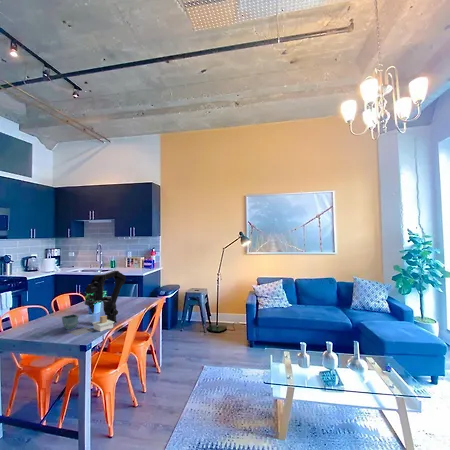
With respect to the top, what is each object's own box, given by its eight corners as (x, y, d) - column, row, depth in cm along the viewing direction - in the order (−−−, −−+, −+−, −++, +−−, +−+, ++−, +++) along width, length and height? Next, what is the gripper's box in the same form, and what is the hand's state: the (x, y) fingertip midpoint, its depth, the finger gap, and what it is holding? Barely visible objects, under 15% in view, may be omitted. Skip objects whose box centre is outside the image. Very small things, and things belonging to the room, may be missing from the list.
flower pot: (73, 325, 213) (73, 314, 213) (78, 327, 208) (78, 316, 208) (61, 328, 206) (61, 316, 207) (66, 331, 201) (66, 318, 201)
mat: (85, 327, 208) (85, 327, 208) (94, 331, 200) (94, 330, 200) (67, 332, 197) (67, 332, 197) (76, 336, 190) (76, 335, 190)
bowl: (105, 325, 212) (106, 320, 212) (113, 328, 206) (113, 322, 206) (93, 329, 204) (93, 323, 204) (100, 332, 198) (100, 326, 198)
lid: (106, 320, 213) (106, 313, 213) (114, 322, 206) (114, 315, 207) (92, 323, 204) (92, 316, 204) (100, 326, 197) (100, 319, 198)
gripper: (103, 288, 220) (103, 307, 219) (80, 292, 204) (80, 313, 204) (112, 289, 214) (112, 309, 213) (89, 294, 198) (88, 315, 198)
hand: (98, 312), depth 207 cm, fingers open, 9 cm apart
